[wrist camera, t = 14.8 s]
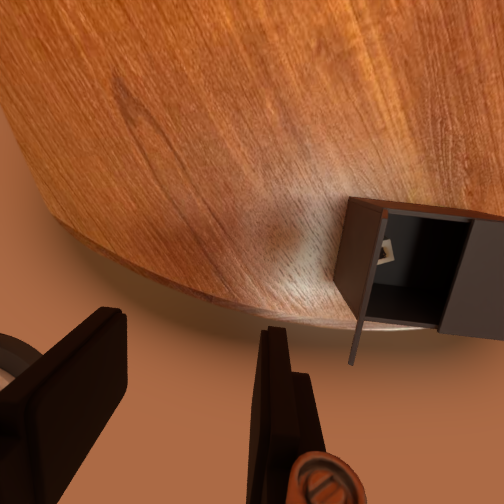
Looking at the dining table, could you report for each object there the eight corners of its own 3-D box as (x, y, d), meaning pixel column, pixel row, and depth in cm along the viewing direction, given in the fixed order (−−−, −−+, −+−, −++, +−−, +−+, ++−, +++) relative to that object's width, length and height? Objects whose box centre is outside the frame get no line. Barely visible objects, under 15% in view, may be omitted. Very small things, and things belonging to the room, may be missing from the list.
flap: (360, 323, 22) (356, 322, 22) (388, 209, 20) (383, 208, 20) (353, 366, 17) (347, 364, 17) (388, 218, 15) (381, 217, 15)
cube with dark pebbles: (385, 253, 29) (395, 261, 27) (363, 259, 30) (372, 267, 27) (380, 233, 29) (391, 239, 27) (359, 239, 29) (367, 246, 27)
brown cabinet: (332, 280, 31) (359, 324, 22) (349, 196, 28) (386, 208, 20) (444, 293, 31) (515, 342, 22) (470, 210, 28) (562, 228, 20)
